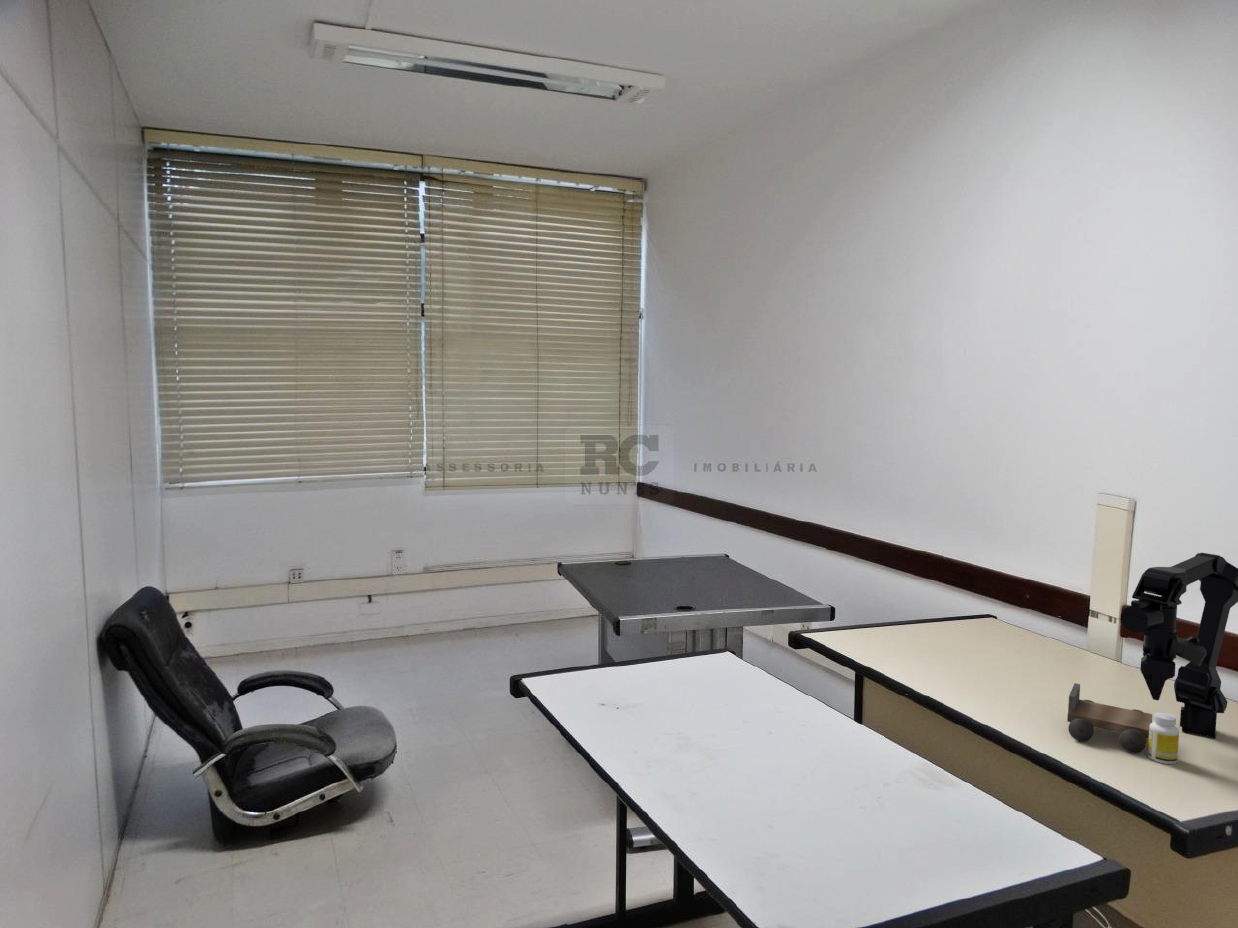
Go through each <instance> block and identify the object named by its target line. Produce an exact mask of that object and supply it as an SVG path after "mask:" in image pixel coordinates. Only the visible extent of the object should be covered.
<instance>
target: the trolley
mask: <svg viewBox="0 0 1238 928" xmlns="http://www.w3.org/2000/svg"><path fill="white" fill-rule="evenodd" d="M1080 691H1081V684H1080V683H1076V682H1074V683H1073V686H1072V688H1071V690H1070V693H1069V695H1068V708H1067V710H1068V711H1067V721H1066V722H1068V723H1069V724H1068V733H1069V735H1070V736H1071V738H1073V739H1074V740H1076V741H1078V742H1089V741H1090V740H1091V739H1093V737H1094V733H1095V728H1096V729H1099V730H1100V729H1101V730H1106V731H1108V732H1109V731H1110V732H1114V733H1119V739H1118V742H1119V744H1120V746H1121V749H1123V750H1124V751H1126V752H1128V753H1131V754H1140V753H1142V752H1144V750H1145V749H1146V747H1147V740H1149V727H1150V724H1151V723H1153V714H1152V713H1148V712H1145V711H1142V710H1139V709H1128V708H1122V707H1119V706H1115V705H1114V706H1113V705H1110V704H1109V705H1108V704H1104V703H1099V702H1095V701H1094V700H1090V699H1080V695H1081V693H1080Z"/></svg>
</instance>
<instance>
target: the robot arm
mask: <svg viewBox="0 0 1238 928" xmlns="http://www.w3.org/2000/svg"><path fill="white" fill-rule="evenodd" d="M1197 581H1199V582H1200V584H1199V592H1201V595H1202V598H1203V600H1204V605H1203V610H1202V614H1201V618H1200V622H1199V626H1198V630H1197V635H1196V636H1194V635H1190V636H1189V637H1188V638H1184V637H1183V638H1182V637H1180V636H1178V630H1177V616H1178V615H1177V613H1178V606H1179V605H1181V604H1182V601H1181V597H1182V595H1184V594H1186V592H1187V586H1188V585H1192V584H1193V583H1196V582H1197ZM1134 589H1135V590H1134V591H1133V593H1132V595H1131V598H1132V599H1133V600H1131V601H1130V606H1126V607H1125V608H1124V609H1123V610H1122V612H1121V614H1120V620H1121V623H1122V625H1123V626H1124V628H1125V629H1126V630H1128V631H1129V632H1131V633H1133V634H1134V633H1135V634H1136V633H1138V634H1140V633H1143V636H1144V637H1143V643H1142V657H1141V659H1140V668H1139V669H1140V672H1141V673H1140V674H1142V676H1143V678H1144V681H1145V684H1146V686H1147V688H1148V690H1149V694H1150V695H1151V699H1152V700H1154V701H1159V700H1160V698H1161V695H1162V692H1163V689H1164V686H1165V683H1166V681H1168V680H1170V679H1173V678H1174V677H1175V676H1177V677H1176V678H1175V680H1174V683H1173V689H1174V694H1175V702H1178V703H1183V706H1181V707H1180V718H1179V727H1181V732H1182V733H1186V734H1191V735H1196V736H1202V737H1206V738H1211V739H1216V738H1217V719H1218V718H1217V717H1218V714H1225V711H1226V709H1227V708H1228V707H1227V706H1228V704H1229V703H1228V700H1227V698H1226V697H1225V695H1224V693H1223V691H1222V690H1221V688H1222V687H1221V686H1222V679H1221V678H1220V676H1219V673H1218V670H1217V665H1218V662H1219V655H1220V653H1221V648H1222V644H1223V638H1224V636H1225V632H1226V626H1227V623H1228V619H1229V615H1230V611H1231V608H1232V607H1234V606H1235V605H1236V604H1238V567H1237V566H1234V565H1233V564H1231V563H1230V562H1228V561H1227V560H1226V559H1225V558H1224V557H1223V556H1221V555H1219V554H1213V553H1207V552H1198V553H1196V554H1195V555H1194V556H1193V557H1191V558H1188V559H1186V560H1183V561H1180V562H1179V563H1177V564H1174V565H1171V566H1154V567H1153V566H1152V567H1149V568H1147V569H1146V570H1145V571H1144V572H1143V573H1142V574H1141V577H1140V578H1139V581H1138V583H1137V585H1136V587H1135V588H1134ZM1177 656H1178V658H1182V659H1183V660H1186V661H1188V663H1186V665H1181V666H1180V667H1179V668H1178V670H1177V675H1176V662H1175V661H1174V660H1175V659H1176V658H1177Z"/></svg>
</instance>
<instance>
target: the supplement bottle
mask: <svg viewBox="0 0 1238 928" xmlns="http://www.w3.org/2000/svg"><path fill="white" fill-rule="evenodd" d="M1176 724H1177V718H1176V716H1174V715H1173V714H1170V713H1166V712H1154V715H1153V721H1152V723H1151V724H1150V727H1149V739H1147V740H1148V741H1147V742H1148V743H1147V744H1148V745H1147V757H1148V758H1149V759H1150V760H1152V761H1154V762H1157V763H1161V764H1164V765H1172V764H1176V763H1177V761H1178V754H1179V753H1178V752H1179V740H1180V739H1179V738H1180V731H1179V730H1180V729H1178V727H1176Z"/></svg>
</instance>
